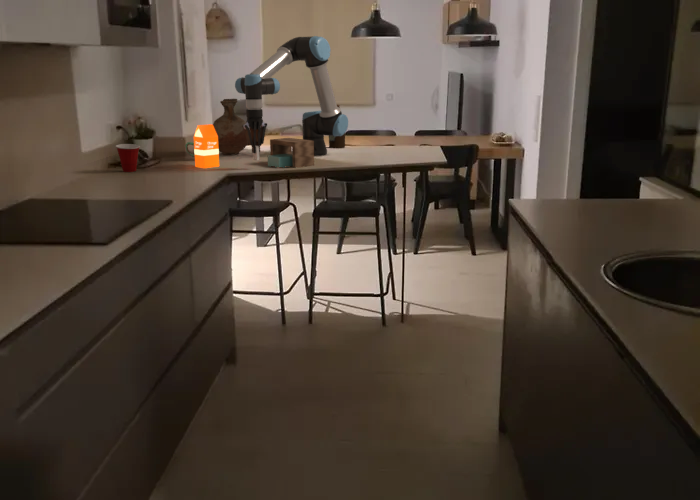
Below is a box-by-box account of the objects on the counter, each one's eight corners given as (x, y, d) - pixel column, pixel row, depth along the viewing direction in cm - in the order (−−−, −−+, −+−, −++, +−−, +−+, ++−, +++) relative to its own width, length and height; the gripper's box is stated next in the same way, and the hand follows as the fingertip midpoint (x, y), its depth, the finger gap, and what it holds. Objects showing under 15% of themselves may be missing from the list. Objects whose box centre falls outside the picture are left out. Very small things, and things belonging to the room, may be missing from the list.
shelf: (289, 161, 349) (288, 137, 345) (314, 165, 335) (313, 140, 332) (270, 163, 340) (269, 139, 337) (295, 167, 327) (294, 142, 324)
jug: (241, 150, 392) (239, 97, 384) (257, 155, 374) (255, 98, 366) (205, 153, 381) (202, 98, 373) (219, 157, 363) (216, 99, 355)
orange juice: (195, 166, 330) (192, 124, 325) (210, 164, 337) (207, 123, 331) (204, 168, 325) (202, 125, 320) (219, 166, 331) (217, 124, 326)
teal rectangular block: (279, 167, 327) (279, 157, 326) (267, 165, 333) (267, 155, 332) (298, 165, 335) (298, 155, 334) (287, 163, 341) (286, 153, 340)
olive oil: (339, 146, 416) (339, 104, 409) (349, 147, 408) (349, 104, 401) (324, 147, 410) (324, 104, 403) (334, 148, 402) (334, 105, 395)
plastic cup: (128, 173, 309) (125, 147, 306) (112, 171, 315) (110, 145, 312) (147, 170, 318) (145, 144, 315) (131, 168, 324) (129, 143, 320)
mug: (210, 158, 361) (209, 139, 358) (217, 160, 352) (216, 140, 350) (183, 160, 353) (182, 140, 351) (189, 162, 345) (188, 142, 343)
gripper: (260, 107, 323) (262, 157, 329) (237, 109, 314) (240, 160, 321) (270, 108, 318) (272, 159, 324) (247, 109, 309) (249, 162, 315)
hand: (256, 159), depth 322 cm, fingers closed
